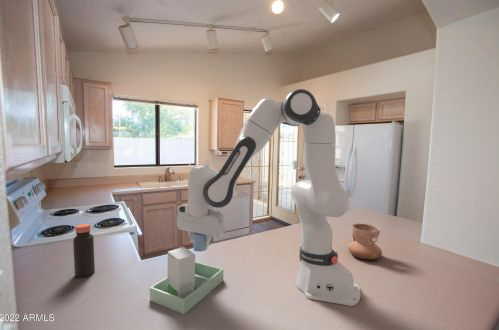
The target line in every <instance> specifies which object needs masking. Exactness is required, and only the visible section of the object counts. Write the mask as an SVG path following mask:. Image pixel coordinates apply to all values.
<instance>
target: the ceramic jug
mask: <svg viewBox="0 0 499 330" xmlns="http://www.w3.org/2000/svg"><path fill="white" fill-rule="evenodd" d="M351 231H352V240H353V241H352V242H350V243H349V245H348V252H349V253H350V254H351V255H352V256H354V257H356V258H359V259H362V260H366V261H367V260H368V261H370V260H371V261H372V260H378V259H379V258H381V257H382V255H383V251H382V249H381V248H380V246H379V245H377V244H376V243H377V242H379V240H378V239H379V236H380V232H381V229H380V227H378V226H374V225H371V224H367V223H360V222H359V223H357V222H356V223H353V224H352V225H351Z"/></svg>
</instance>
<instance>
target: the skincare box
mask: <svg viewBox="0 0 499 330" xmlns="http://www.w3.org/2000/svg"><path fill="white" fill-rule="evenodd" d="M195 261H196V254H195V253H194V252H192V251H191V250H190V249H187V247H184V246H181V247H178V248H175V249H172V250H169V251H167V277H168V281H167V291H166V292H167V293H169V294H172V295H175V296H177V297H180V298H183V299H184V298H186V297H187V296H188V295H189V294H191V293H192V292H193V291H194V290H196V289H195Z"/></svg>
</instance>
